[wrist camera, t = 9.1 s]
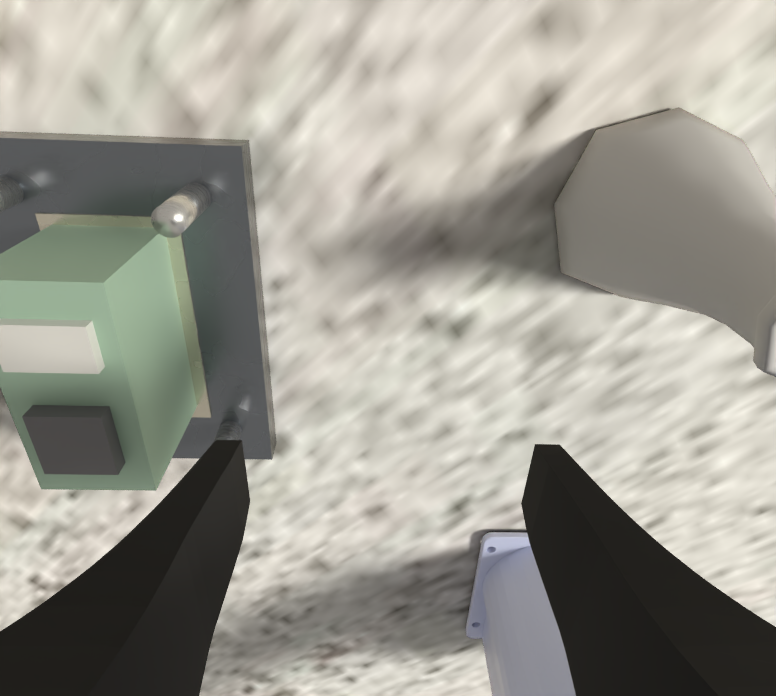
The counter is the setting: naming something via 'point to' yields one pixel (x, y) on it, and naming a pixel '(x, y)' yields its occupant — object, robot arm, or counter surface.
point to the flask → (675, 223)
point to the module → (94, 356)
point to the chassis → (186, 248)
